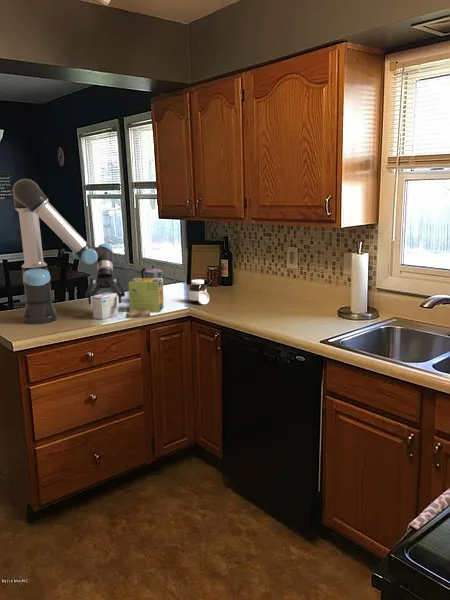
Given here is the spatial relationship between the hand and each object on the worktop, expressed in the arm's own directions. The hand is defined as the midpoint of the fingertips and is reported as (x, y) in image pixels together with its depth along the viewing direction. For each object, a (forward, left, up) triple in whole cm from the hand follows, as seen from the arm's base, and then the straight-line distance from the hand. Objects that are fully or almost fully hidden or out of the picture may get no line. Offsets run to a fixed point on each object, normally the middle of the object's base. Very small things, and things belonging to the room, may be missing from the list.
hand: (104, 308), depth 250 cm
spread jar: (+48, +24, -5) cm, 54 cm away
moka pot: (+23, +30, -5) cm, 38 cm away
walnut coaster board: (+16, +2, -4) cm, 17 cm away
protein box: (+20, +12, -5) cm, 24 cm away
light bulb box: (0, +3, -4) cm, 5 cm away
